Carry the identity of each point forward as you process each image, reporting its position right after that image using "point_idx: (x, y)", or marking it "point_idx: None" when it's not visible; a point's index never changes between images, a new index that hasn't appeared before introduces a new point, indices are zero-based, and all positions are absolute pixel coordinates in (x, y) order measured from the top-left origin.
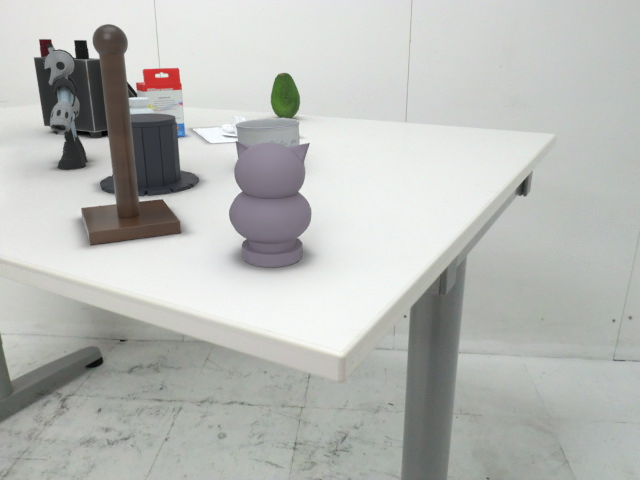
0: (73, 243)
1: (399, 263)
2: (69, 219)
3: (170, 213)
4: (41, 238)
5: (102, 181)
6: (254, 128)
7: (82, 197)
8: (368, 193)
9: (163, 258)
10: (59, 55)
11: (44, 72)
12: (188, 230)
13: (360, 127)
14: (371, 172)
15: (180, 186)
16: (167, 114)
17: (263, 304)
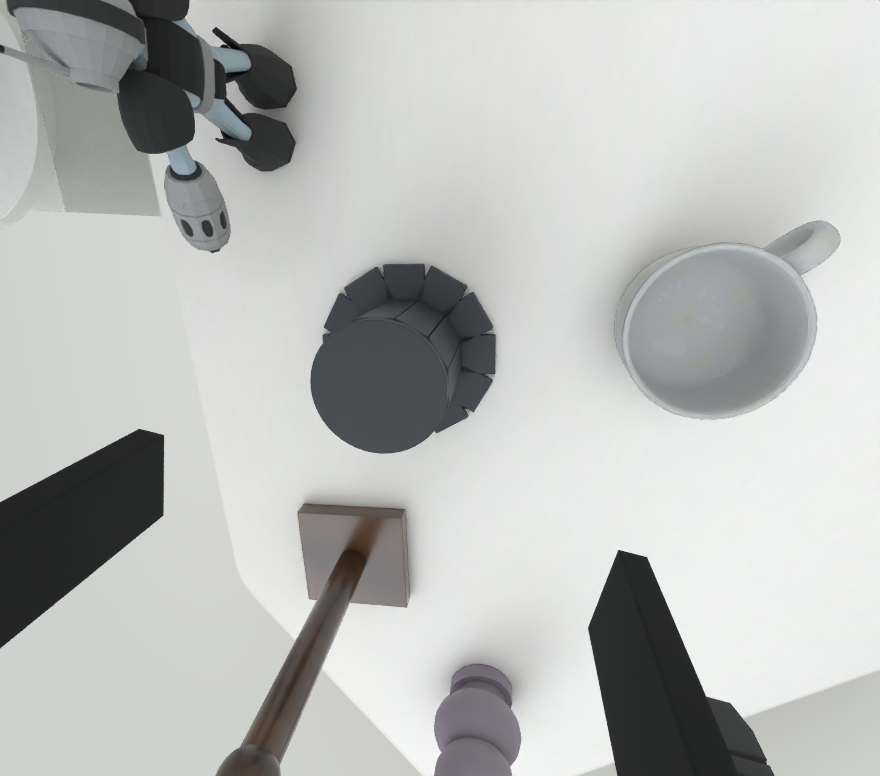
0: (298, 575)
1: (586, 750)
2: (288, 495)
3: (400, 579)
4: (265, 547)
5: (327, 329)
6: (644, 394)
7: (299, 399)
8: (734, 562)
9: (380, 648)
10: (59, 47)
11: None
12: (419, 591)
13: None
14: (858, 446)
15: (448, 421)
16: (435, 359)
17: (438, 752)
